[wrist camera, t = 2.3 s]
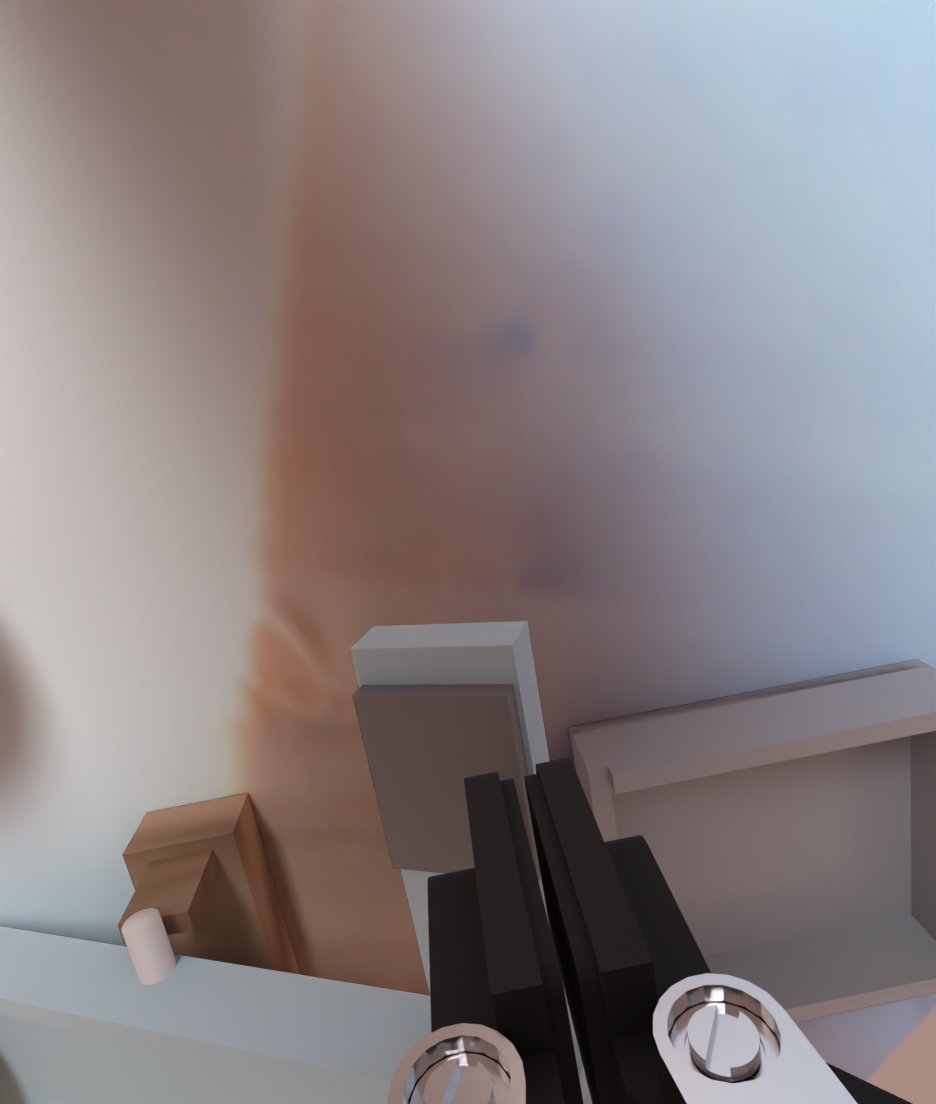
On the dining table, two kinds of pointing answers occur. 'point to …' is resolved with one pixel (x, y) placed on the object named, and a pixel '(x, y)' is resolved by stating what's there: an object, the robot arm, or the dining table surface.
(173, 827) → the fulcrum
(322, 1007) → the lever
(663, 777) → the dish
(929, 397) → the dining table surface
